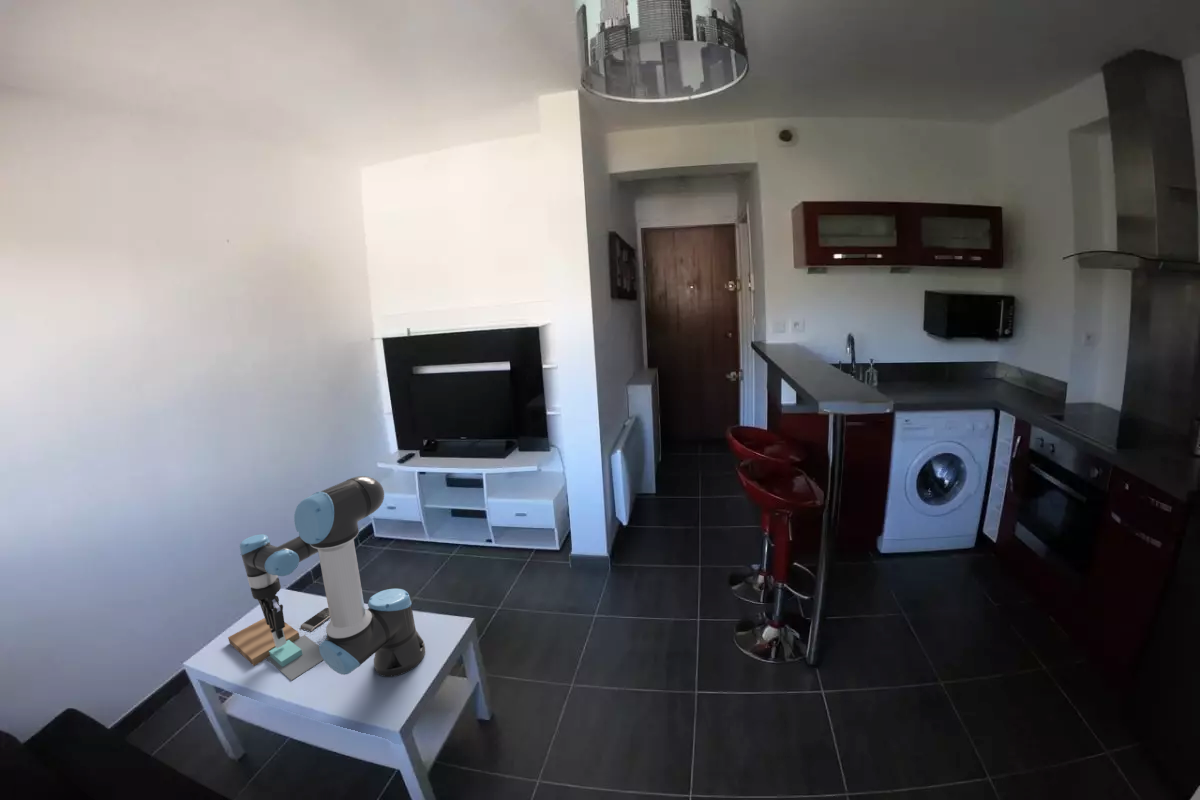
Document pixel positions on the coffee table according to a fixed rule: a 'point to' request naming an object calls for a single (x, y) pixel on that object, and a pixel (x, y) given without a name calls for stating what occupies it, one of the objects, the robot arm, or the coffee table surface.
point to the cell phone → (316, 620)
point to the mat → (300, 659)
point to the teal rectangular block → (285, 653)
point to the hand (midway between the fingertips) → (281, 644)
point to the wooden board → (258, 640)
